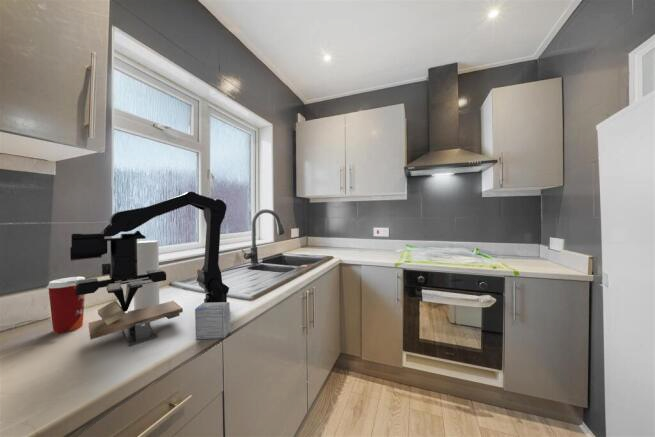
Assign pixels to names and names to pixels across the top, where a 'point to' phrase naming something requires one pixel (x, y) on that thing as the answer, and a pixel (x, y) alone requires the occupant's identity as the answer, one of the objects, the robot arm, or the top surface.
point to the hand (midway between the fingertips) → (125, 311)
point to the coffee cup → (66, 304)
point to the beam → (135, 319)
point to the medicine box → (212, 320)
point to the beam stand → (139, 333)
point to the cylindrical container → (146, 262)
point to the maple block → (111, 312)
